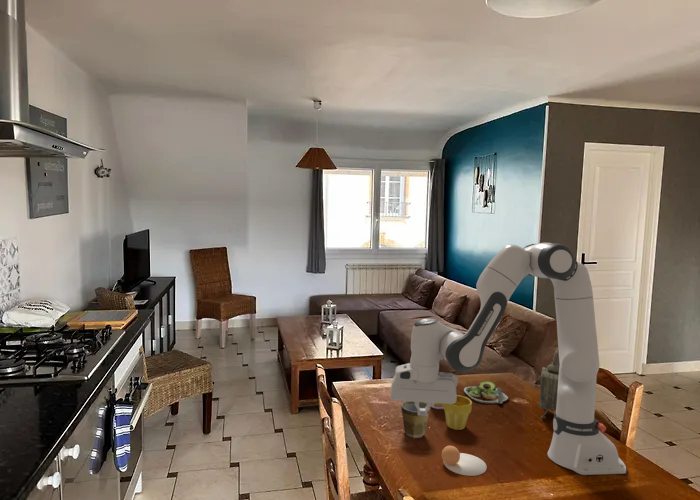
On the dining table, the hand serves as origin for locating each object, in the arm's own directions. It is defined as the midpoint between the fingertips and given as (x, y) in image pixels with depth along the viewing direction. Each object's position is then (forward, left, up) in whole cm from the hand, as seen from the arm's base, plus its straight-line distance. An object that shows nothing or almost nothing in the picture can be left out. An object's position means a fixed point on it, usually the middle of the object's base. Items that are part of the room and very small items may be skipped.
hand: (422, 415), depth 148 cm
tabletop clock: (-54, -42, -15) cm, 70 cm away
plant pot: (-15, -27, -15) cm, 34 cm away
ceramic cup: (+1, -20, -15) cm, 25 cm away
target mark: (-14, 0, -15) cm, 20 cm away
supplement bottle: (-10, -44, -15) cm, 48 cm away
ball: (-9, 0, -12) cm, 15 cm away
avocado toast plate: (-32, -59, -16) cm, 69 cm away
